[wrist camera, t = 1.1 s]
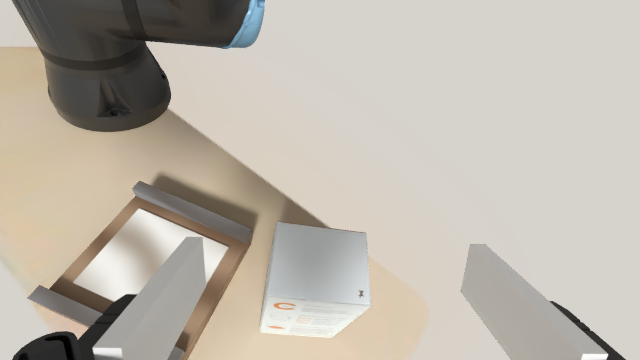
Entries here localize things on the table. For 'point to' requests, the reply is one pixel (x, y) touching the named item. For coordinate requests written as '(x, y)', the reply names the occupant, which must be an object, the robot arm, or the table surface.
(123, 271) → the tray
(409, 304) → the table surface
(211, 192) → the table surface
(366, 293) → the small box
